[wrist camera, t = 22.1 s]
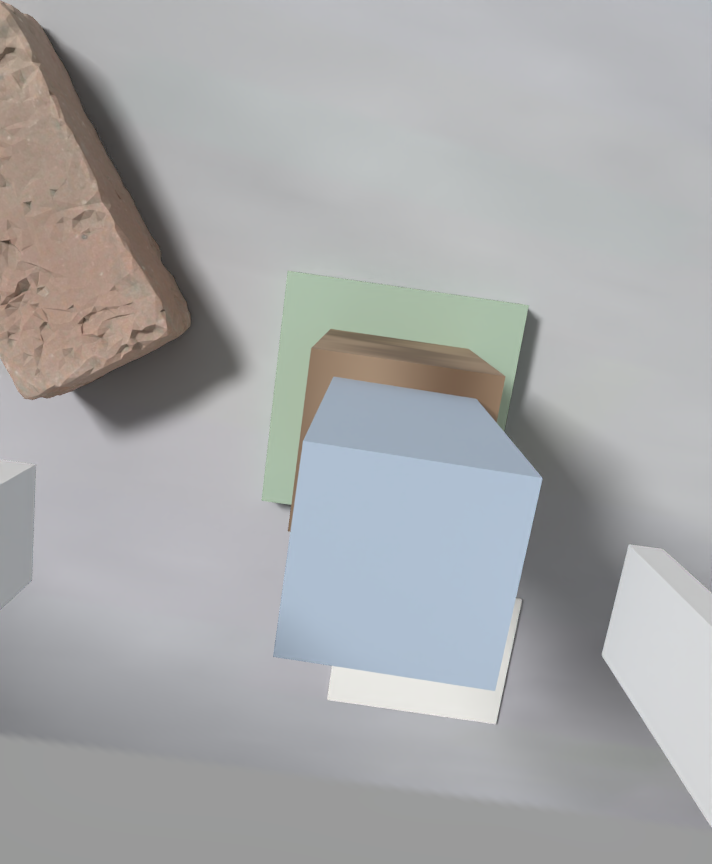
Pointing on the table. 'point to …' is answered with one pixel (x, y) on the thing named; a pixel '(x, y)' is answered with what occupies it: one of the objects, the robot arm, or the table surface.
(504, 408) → the pad
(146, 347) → the brick
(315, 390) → the walnut block
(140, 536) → the table surface
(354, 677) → the page
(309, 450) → the bluegrey block
